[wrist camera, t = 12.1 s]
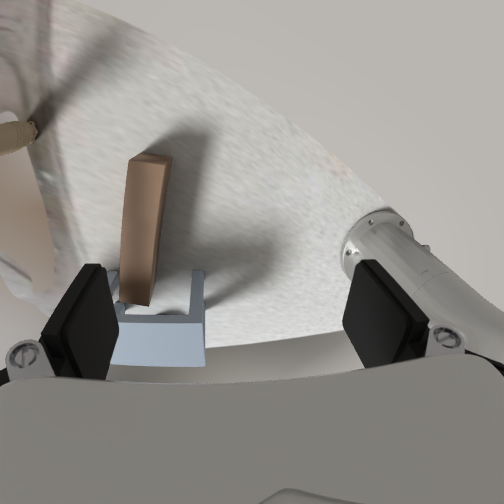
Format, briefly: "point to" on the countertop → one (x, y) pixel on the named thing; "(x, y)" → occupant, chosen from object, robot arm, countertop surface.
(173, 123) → the countertop surface
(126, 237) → the brown block
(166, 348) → the low shelf
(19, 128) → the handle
